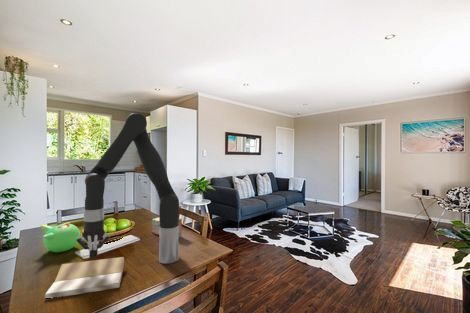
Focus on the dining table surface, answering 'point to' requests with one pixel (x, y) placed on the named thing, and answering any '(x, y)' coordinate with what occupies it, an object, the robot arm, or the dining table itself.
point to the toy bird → (60, 237)
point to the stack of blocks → (157, 225)
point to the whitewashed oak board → (84, 285)
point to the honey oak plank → (90, 268)
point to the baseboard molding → (109, 246)
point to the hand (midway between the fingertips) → (93, 257)
